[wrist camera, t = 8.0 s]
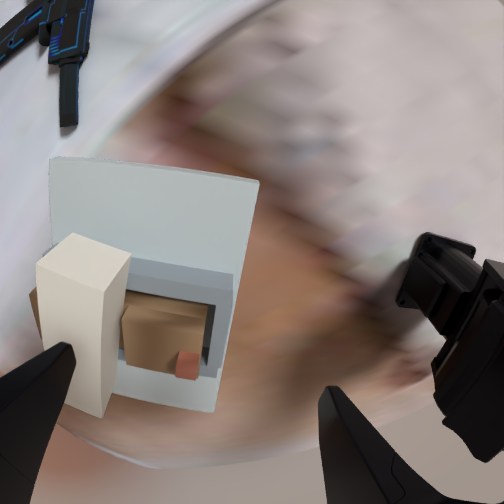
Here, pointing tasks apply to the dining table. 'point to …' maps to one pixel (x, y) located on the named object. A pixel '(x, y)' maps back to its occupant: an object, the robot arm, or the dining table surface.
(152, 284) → the jig board
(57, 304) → the long cream prism
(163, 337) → the brown box with tab
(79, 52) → the gun
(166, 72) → the dining table surface
